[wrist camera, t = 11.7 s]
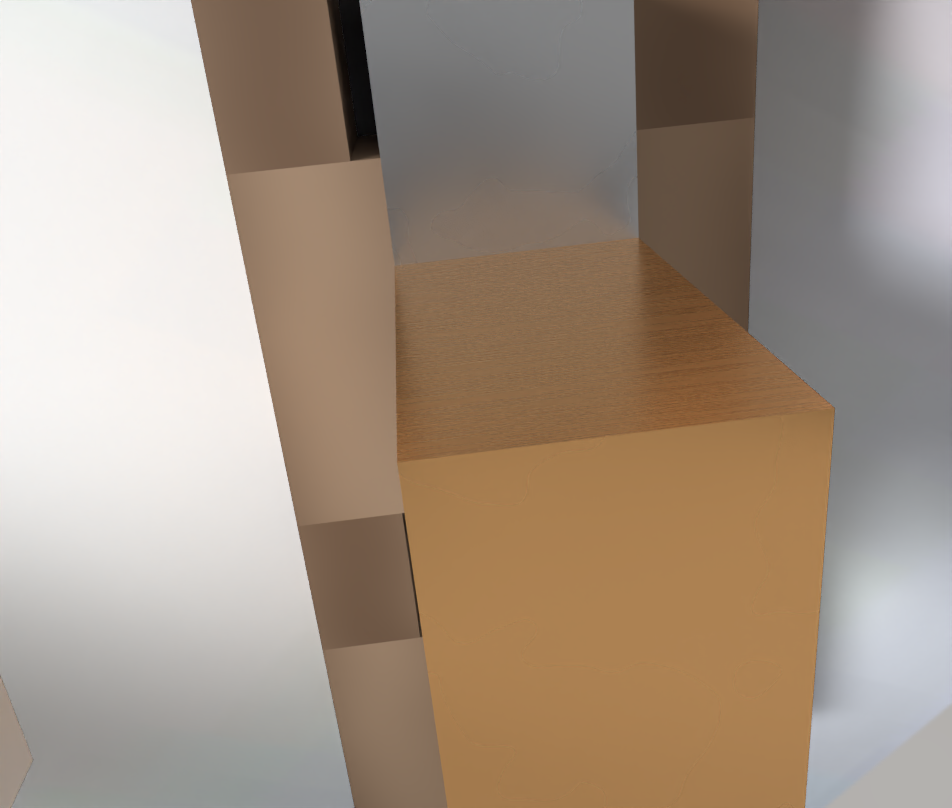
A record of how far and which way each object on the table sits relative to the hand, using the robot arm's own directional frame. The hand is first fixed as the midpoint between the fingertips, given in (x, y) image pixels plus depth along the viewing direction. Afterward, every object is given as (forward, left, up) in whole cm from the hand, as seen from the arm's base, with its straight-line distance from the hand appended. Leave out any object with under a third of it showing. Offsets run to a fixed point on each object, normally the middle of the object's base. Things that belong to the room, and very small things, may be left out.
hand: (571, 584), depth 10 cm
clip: (0, 0, -13) cm, 13 cm away
